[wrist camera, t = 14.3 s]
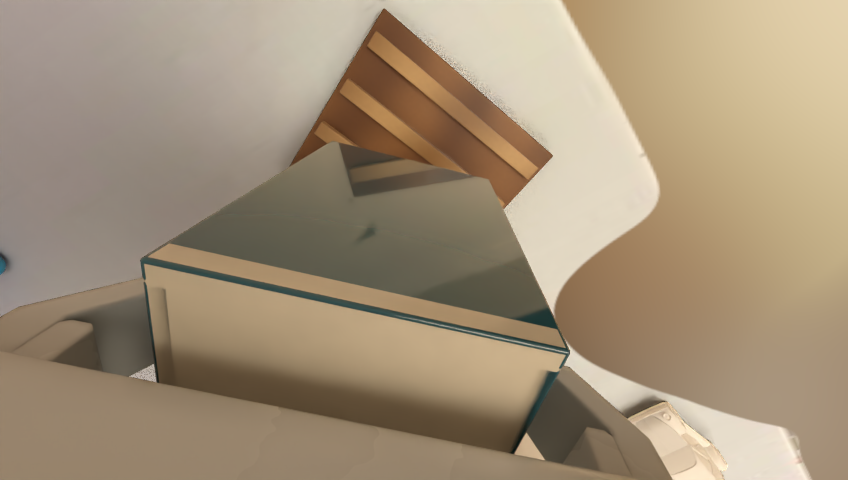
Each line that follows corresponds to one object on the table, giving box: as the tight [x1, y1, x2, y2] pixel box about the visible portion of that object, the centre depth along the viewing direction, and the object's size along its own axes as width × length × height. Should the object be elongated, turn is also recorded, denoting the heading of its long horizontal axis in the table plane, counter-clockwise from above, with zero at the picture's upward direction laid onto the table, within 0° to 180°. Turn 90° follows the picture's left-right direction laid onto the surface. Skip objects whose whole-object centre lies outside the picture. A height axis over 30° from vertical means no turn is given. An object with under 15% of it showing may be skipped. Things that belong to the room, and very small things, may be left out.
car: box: [627, 402, 728, 480], centre depth 34 cm, size 12×6×5 cm, turn 44°
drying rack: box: [290, 9, 553, 209], centre depth 24 cm, size 14×13×1 cm
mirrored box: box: [140, 141, 570, 454], centre depth 11 cm, size 10×7×8 cm
